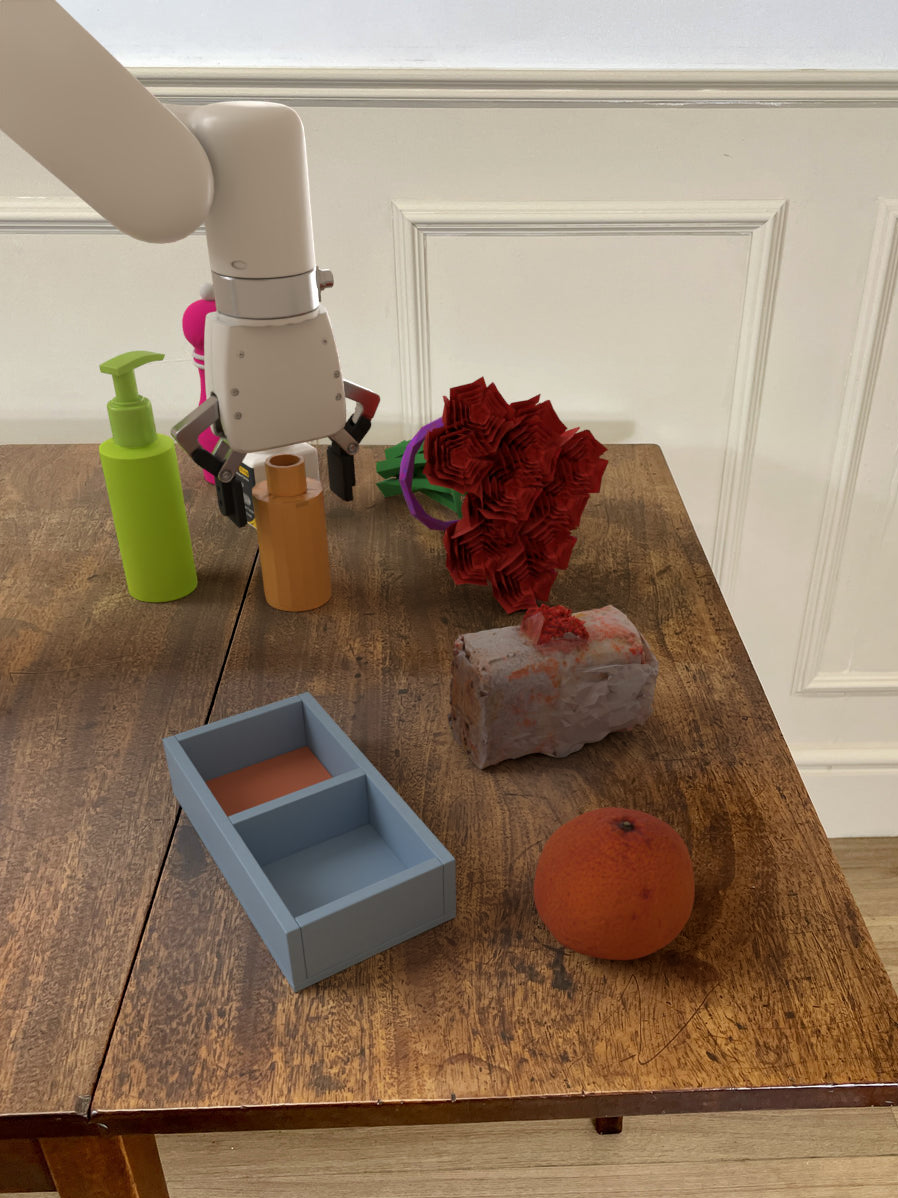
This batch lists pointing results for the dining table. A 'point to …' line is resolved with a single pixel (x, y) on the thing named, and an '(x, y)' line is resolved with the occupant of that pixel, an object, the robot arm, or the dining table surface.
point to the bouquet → (499, 488)
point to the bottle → (292, 535)
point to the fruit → (614, 884)
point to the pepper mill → (201, 354)
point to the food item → (549, 684)
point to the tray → (310, 837)
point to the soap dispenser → (145, 491)
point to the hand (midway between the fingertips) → (290, 508)
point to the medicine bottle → (255, 471)
